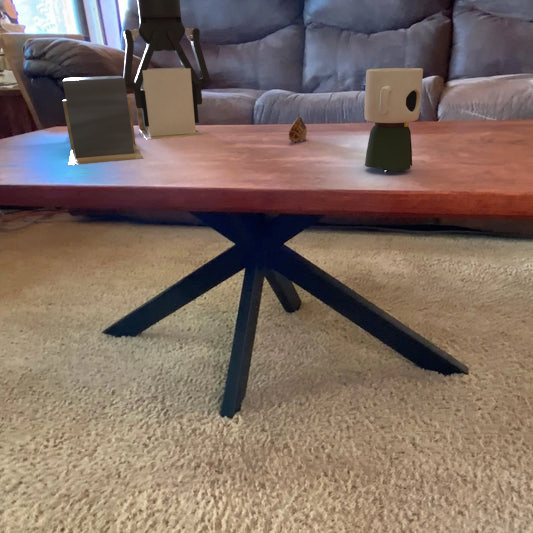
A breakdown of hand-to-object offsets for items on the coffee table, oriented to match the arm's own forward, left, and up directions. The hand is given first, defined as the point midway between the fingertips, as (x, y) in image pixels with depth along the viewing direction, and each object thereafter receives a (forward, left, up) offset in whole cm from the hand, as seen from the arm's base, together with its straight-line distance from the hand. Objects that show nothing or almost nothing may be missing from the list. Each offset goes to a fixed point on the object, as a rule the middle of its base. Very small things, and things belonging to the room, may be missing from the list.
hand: (171, 123), depth 100 cm
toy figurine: (+47, -12, -3) cm, 49 cm away
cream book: (0, 0, -2) cm, 2 cm away
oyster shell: (+24, +6, -3) cm, 25 cm away
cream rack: (-2, +2, -3) cm, 4 cm away
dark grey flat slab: (+2, -20, -3) cm, 21 cm away
